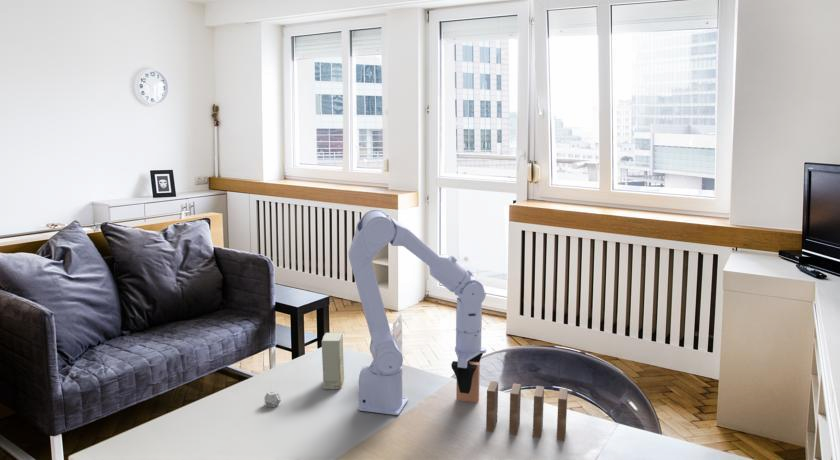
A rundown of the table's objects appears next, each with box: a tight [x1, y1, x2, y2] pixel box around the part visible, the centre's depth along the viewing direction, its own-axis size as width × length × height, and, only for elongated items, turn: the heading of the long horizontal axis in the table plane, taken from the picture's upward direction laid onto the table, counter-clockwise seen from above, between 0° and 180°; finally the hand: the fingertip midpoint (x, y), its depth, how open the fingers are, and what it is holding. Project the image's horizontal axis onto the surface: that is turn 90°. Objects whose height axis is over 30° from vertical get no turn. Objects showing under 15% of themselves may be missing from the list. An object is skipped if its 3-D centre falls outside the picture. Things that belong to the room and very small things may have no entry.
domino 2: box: [508, 382, 522, 436], centre depth 139 cm, size 2×5×9 cm, turn 165°
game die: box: [263, 390, 282, 408], centre depth 150 cm, size 4×4×3 cm
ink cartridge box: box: [388, 313, 403, 355], centre depth 167 cm, size 9×5×15 cm, turn 168°
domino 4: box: [556, 387, 569, 442], centre depth 136 cm, size 2×5×9 cm, turn 165°
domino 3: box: [532, 385, 545, 439], centre depth 137 cm, size 2×5×9 cm, turn 165°
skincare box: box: [321, 332, 345, 390], centre depth 160 cm, size 6×4×12 cm
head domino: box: [455, 362, 481, 404], centre depth 152 cm, size 2×5×9 cm, turn 75°
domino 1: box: [485, 380, 499, 433], centre depth 140 cm, size 2×5×9 cm, turn 165°
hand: (467, 385), depth 152 cm, fingers open, 7 cm apart
